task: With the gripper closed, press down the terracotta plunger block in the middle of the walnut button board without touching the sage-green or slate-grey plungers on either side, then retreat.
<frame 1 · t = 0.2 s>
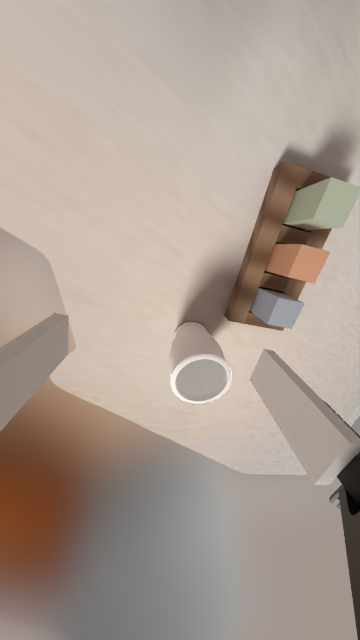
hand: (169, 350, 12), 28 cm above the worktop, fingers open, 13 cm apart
terracotta plunger: (293, 262, 32), point 6 cm above the worktop, slide at 0.0 cm
button board: (274, 259, 38), on the worktop
jar: (190, 337, 44), on the worktop
sage plunger: (316, 208, 29), point 6 cm above the worktop, slide at 0.0 cm
slate plunger: (273, 306, 35), point 6 cm above the worktop, slide at 0.0 cm
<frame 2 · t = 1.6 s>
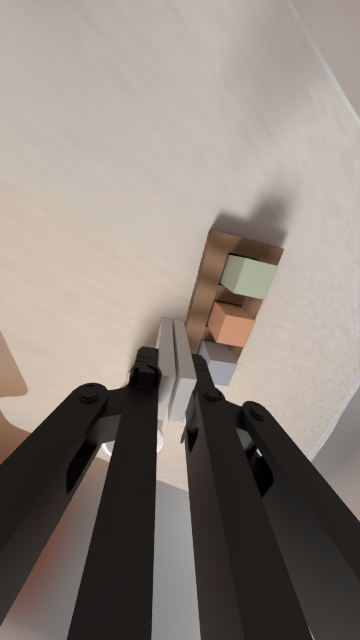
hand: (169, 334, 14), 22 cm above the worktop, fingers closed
terracotta plunger: (228, 322, 33), point 6 cm above the worktop, slide at 0.0 cm
button board: (219, 310, 38), on the worktop
jar: (142, 380, 44), on the worktop
sage plunger: (245, 275, 30), point 6 cm above the worktop, slide at 0.0 cm
slate plunger: (214, 360, 36), point 6 cm above the worktop, slide at 0.0 cm
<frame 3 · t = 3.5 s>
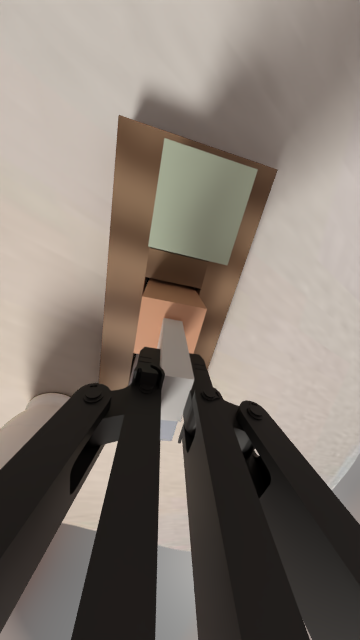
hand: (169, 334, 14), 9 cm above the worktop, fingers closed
terracotta plunger: (168, 314, 18), point 5 cm above the worktop, slide at 1.4 cm, touching gripper
button board: (167, 300, 22), on the worktop
jar: (58, 411, 28), on the worktop
sage plunger: (191, 217, 14), point 6 cm above the worktop, slide at 0.0 cm
slate plunger: (152, 390, 20), point 6 cm above the worktop, slide at 0.0 cm
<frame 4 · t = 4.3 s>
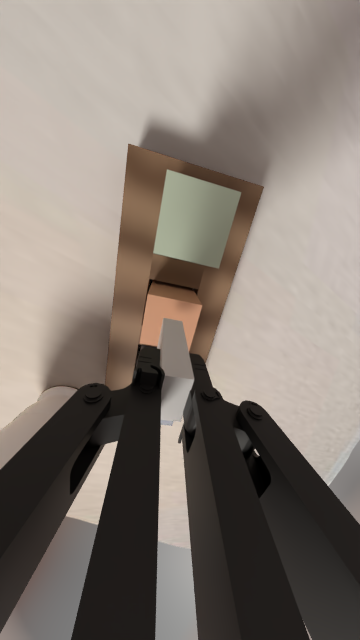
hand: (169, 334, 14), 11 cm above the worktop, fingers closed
terracotta plunger: (169, 311, 21), point 4 cm above the worktop, slide at 1.7 cm
button board: (168, 300, 24), on the worktop
jar: (67, 404, 30), on the worktop
sage plunger: (189, 228, 16), point 6 cm above the worktop, slide at 0.0 cm
slate plunger: (155, 380, 22), point 6 cm above the worktop, slide at 0.0 cm
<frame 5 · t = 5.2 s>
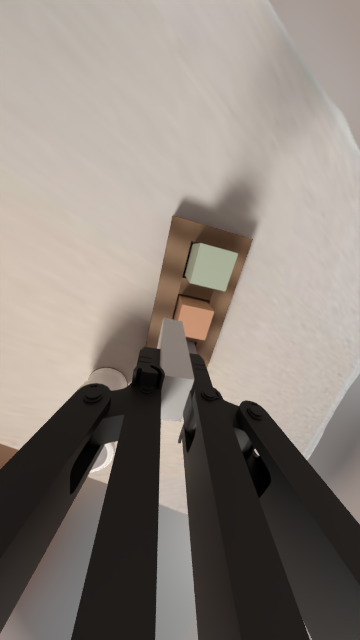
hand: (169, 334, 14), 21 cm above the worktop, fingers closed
terracotta plunger: (191, 314, 31), point 4 cm above the worktop, slide at 1.7 cm
button board: (188, 307, 35), on the worktop
jar: (108, 382, 41), on the worktop
sage plunger: (207, 265, 27), point 6 cm above the worktop, slide at 0.0 cm
slate plunger: (179, 361, 33), point 6 cm above the worktop, slide at 0.0 cm
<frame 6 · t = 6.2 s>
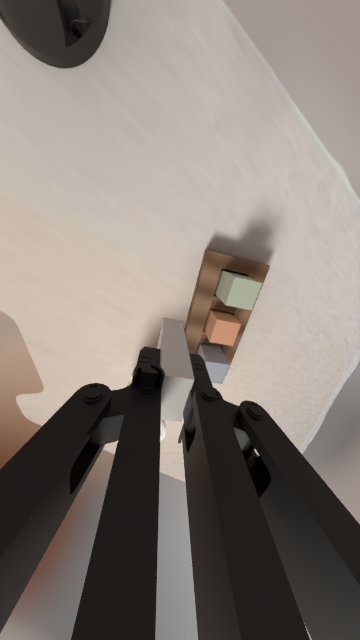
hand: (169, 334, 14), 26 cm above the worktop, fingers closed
terracotta plunger: (219, 325, 39), point 4 cm above the worktop, slide at 1.7 cm
button board: (215, 317, 43), on the worktop
sage plunger: (235, 289, 35), point 6 cm above the worktop, slide at 0.0 cm
slate plunger: (210, 362, 41), point 6 cm above the worktop, slide at 0.0 cm
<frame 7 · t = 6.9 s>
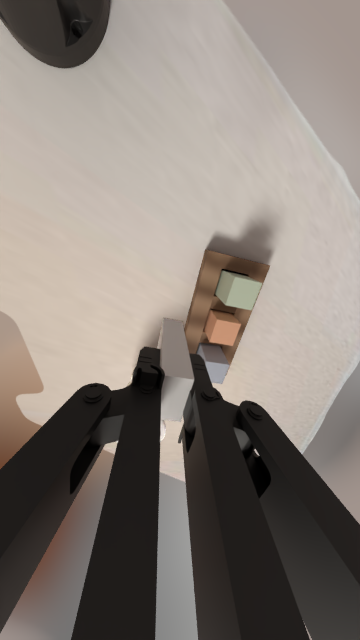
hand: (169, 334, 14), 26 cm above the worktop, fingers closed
terracotta plunger: (219, 325, 39), point 4 cm above the worktop, slide at 1.7 cm
button board: (215, 317, 43), on the worktop
sage plunger: (235, 289, 35), point 6 cm above the worktop, slide at 0.0 cm
slate plunger: (210, 362, 41), point 6 cm above the worktop, slide at 0.0 cm
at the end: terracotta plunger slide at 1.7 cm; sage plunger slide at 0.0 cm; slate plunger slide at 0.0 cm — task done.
